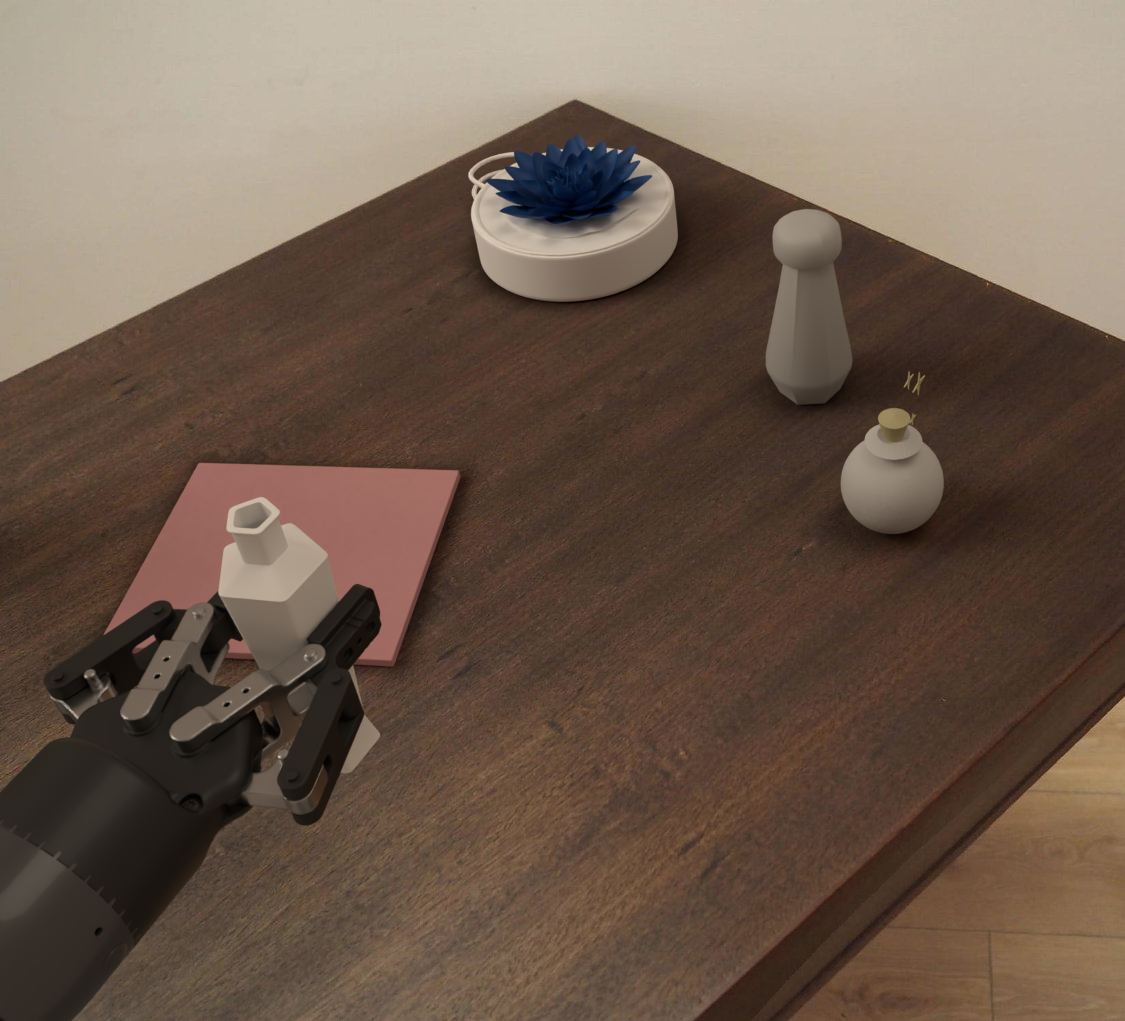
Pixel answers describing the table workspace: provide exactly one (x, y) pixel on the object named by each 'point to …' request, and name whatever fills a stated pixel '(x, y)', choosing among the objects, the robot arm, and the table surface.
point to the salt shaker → (808, 310)
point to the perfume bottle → (280, 594)
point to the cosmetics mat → (326, 515)
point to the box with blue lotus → (573, 221)
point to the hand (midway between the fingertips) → (322, 583)
